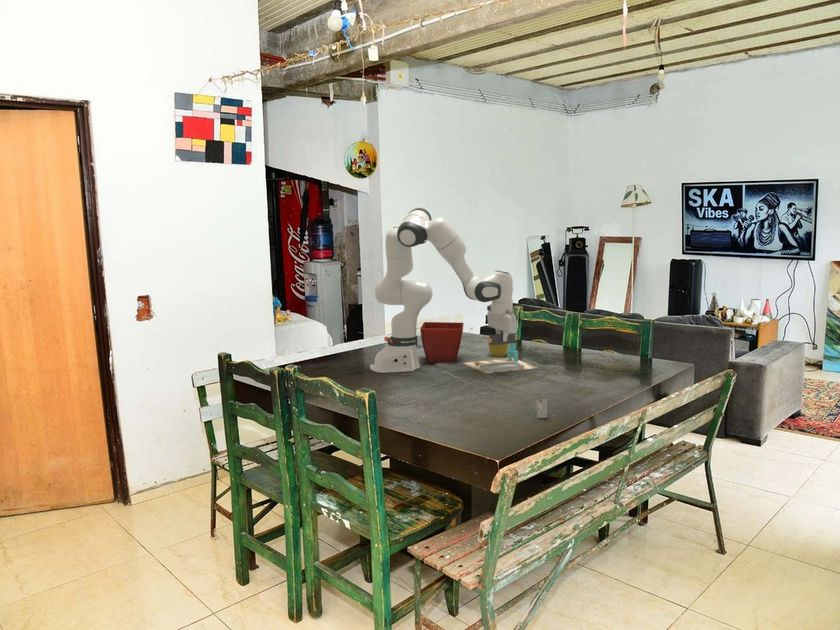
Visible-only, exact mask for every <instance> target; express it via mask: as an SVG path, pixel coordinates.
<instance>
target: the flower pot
mask: <svg viewBox="0 0 840 630" xmlns="http://www.w3.org/2000/svg"><path fill="white" fill-rule="evenodd" d="M488 349H489V351H488V352H489V354H490V356H491V357H499V358H504V357H505V356H506V355H507V351H508V349H509V344H500V345H491V344H489V343H488Z"/></svg>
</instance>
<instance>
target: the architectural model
mask: <svg viewBox="0 0 840 630" xmlns="http://www.w3.org/2000/svg"><path fill="white" fill-rule="evenodd" d="M536 410H537V413H536V414H537V419H545V418H546V419H547V418H548V399H545V398H544V399H541V402H539V400H538V399H535V411H536Z"/></svg>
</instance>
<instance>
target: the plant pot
mask: <svg viewBox="0 0 840 630" xmlns="http://www.w3.org/2000/svg"><path fill="white" fill-rule="evenodd" d="M419 329H420V330H419V331H420V337H421V342H422V347H423V352H424V355H425V359H426V362H427V363H428V364H439V362H449V363H450V362H454V363H455V362H457V360H458V359H457V358H458V355H459V352H460V351H459V350H460V347H461V342H462V337H463V332H464V322H454V321H453V322H452V321H450V322H447V321H446V322H445V321H443V322H442V321H441V322H439V321H424V322H423V323H422V325H421V326H420V328H419Z"/></svg>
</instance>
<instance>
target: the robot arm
mask: <svg viewBox="0 0 840 630" xmlns="http://www.w3.org/2000/svg"><path fill="white" fill-rule="evenodd" d="M427 241H429V242H430V243H431V244H432V245H433V246H434V248H435V250H436V251H437V252H438V254H439V255H440V256H441V257H442V258H443V259H444V260H445V261H446V262H447V263H448V265H449V266H451V268H452V269H453V271H454V272H455V274H456V275H457V277H458V278H459V280H460V282H461V284H462V288H463V292H464V294H465V296H466V298H468V299H469V300H473V301H477V302H481V303H488V302H491V304H488V305H487V306H486V311H487V314H486V316H487V317H486V318H487V325H488V327H489V328H492V329H494V330H495V334H503V337H502V341H504V342H505V341H507V337H508V334H509V333H514V334H516V333H517V330H518V326H517V325H518V322H517V317H516V315H515V313H514V310H513V305H514V303H513V301H514V300H513V292H514V291H513V290H514V284H513V282H514V281H513V276H512V274H511V273H510V272H507V271H503V270H494V271H493V272H492V273H490V274H489V275H488V276H486V277H484V278H481V277H479V276H477V275H476V274H475V273H474V271H473V270H472V268H471V267H470V265H469V264H468V263H467V261H466V259H465V255H466V251H467V248H466V245H465V242H464V240H463V238H462V237H461V235H460V234H459V233H458V232H457V230H456V229H455V228H454V226H452V225H451V224H450V223H449V221H447V220H446V219H445V218H444V217H435V218H433V219H432V216H431V214H430V212H429V210H427V209H425V208H424V207H417V208H413V209H411V210H410V211H409V212H408V214H407V215H406V216H405V217H404V218H403V220H402V222H401V223H400V225H399V226H398V227H394V228H392V229H389V230H388V231H387V232H386V235H385V256H386V258H385V259H386V273H385V276H384V278H382V280H380V281H378V283H377V284H376V286H375V287H374V297H375V299H376V301H377V302H378V303H379V304H383V305H388V306H390V305H391V306H403V307H404V308H403V311H401V312H399V313H397V314H395V315H394V316H393V317H392V318H391V323H390V325H391V335H390V336H389V337H388V336H384V341H385V342H387V345H386V346H385V347H383V348H382V349H381V350H380V351H378V352H377V353H376V355H375V357H374V363H373V364H370V365H369V369H370V370H371V371H372V372H375V373H380V374H385V373H386V374H387V373H401V372H402V373H403V372H404V373H406V372H415V370H418V369H420V368H421V364H420V361H419V356H418V355H419V354H418V345H419V343H418V342H419V341H418V335H417V326H418V325H417V324H418V323H417V322H418V317H419V314H420V312H421V311H422V310H423V308H424V307H425V306H426V305H428V304H429V303H430V301H431V300H432V298H433V288H432V285H430V283H428V281H427V282H426V281H422V280H403V279H402V278H404V277H407V276H408V275H410V273H412V271H413V269H414V262H413V251H412V248H413V247H417V246H419V245H423V244H425V243H426V242H427Z"/></svg>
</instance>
